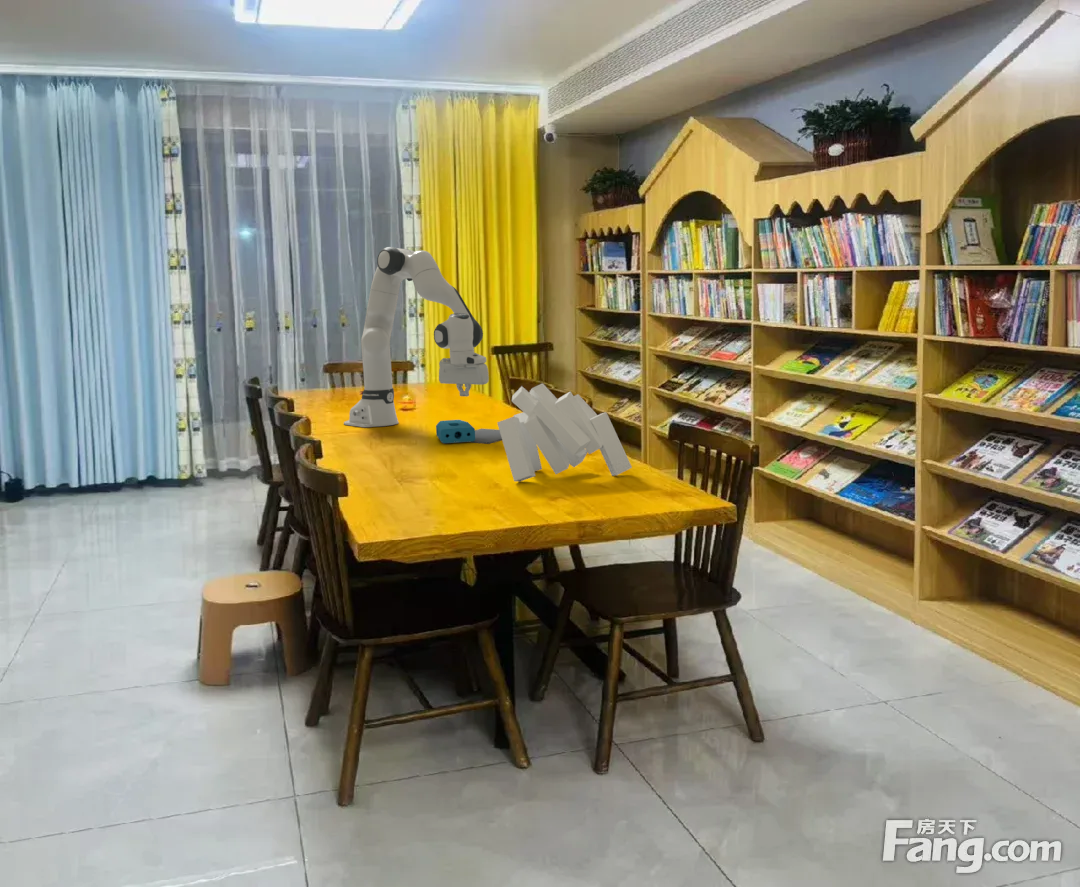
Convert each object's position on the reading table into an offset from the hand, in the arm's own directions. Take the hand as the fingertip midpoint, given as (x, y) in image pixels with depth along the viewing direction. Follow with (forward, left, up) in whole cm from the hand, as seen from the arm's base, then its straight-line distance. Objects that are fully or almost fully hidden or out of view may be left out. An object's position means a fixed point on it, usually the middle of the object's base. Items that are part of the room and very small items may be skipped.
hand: (464, 396), depth 381 cm
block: (-5, -2, -11) cm, 13 cm away
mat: (+9, 0, -15) cm, 17 cm away
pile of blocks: (+71, -50, -15) cm, 88 cm away
